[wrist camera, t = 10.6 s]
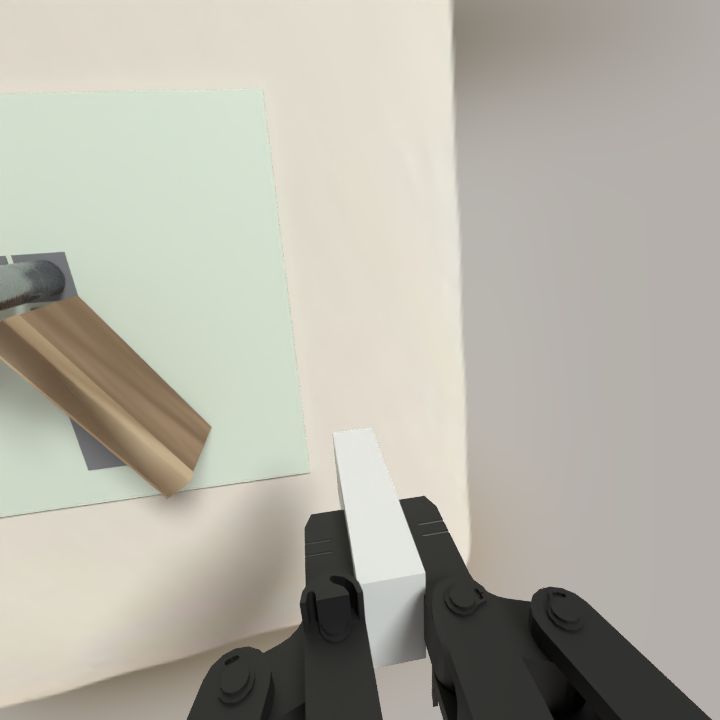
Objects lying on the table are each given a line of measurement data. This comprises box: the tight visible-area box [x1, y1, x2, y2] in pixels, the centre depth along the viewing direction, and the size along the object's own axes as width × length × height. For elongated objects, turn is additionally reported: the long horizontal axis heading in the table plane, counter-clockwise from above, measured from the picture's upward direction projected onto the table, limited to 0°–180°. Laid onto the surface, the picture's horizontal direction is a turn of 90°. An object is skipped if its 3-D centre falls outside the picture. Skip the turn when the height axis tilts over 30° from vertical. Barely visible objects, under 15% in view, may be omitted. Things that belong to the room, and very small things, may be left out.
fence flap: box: [0, 295, 212, 498], centre depth 19 cm, size 1×10×6 cm, turn 34°
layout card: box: [0, 88, 310, 517], centre depth 21 cm, size 22×28×1 cm
